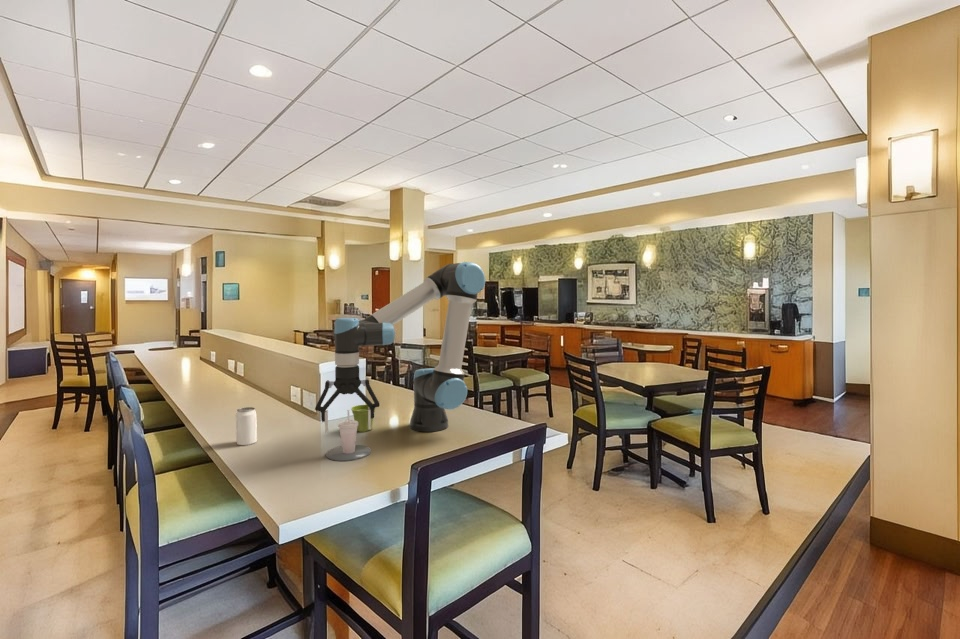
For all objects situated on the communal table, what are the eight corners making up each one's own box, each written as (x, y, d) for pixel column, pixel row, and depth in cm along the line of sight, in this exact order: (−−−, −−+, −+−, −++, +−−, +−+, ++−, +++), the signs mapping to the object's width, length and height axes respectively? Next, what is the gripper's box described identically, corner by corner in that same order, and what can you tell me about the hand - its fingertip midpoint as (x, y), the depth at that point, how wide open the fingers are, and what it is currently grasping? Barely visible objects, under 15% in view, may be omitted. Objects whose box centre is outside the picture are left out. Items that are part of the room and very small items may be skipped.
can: (232, 444, 161) (231, 410, 160) (247, 439, 167) (246, 406, 166) (246, 446, 159) (245, 412, 158) (261, 441, 165) (260, 407, 164)
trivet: (370, 444, 161) (370, 443, 161) (371, 458, 147) (371, 457, 147) (327, 448, 157) (327, 446, 157) (324, 462, 144) (324, 461, 144)
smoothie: (339, 456, 148) (339, 412, 147) (337, 449, 154) (336, 408, 153) (360, 453, 150) (359, 410, 150) (357, 447, 156) (356, 406, 156)
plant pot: (374, 433, 174) (374, 410, 174) (349, 433, 174) (348, 410, 173) (378, 425, 184) (377, 404, 183) (354, 426, 183) (353, 404, 182)
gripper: (385, 362, 157) (386, 423, 158) (307, 365, 151) (309, 429, 152) (386, 365, 150) (387, 430, 151) (305, 368, 144) (306, 436, 145)
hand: (348, 429), depth 152 cm, fingers open, 13 cm apart
